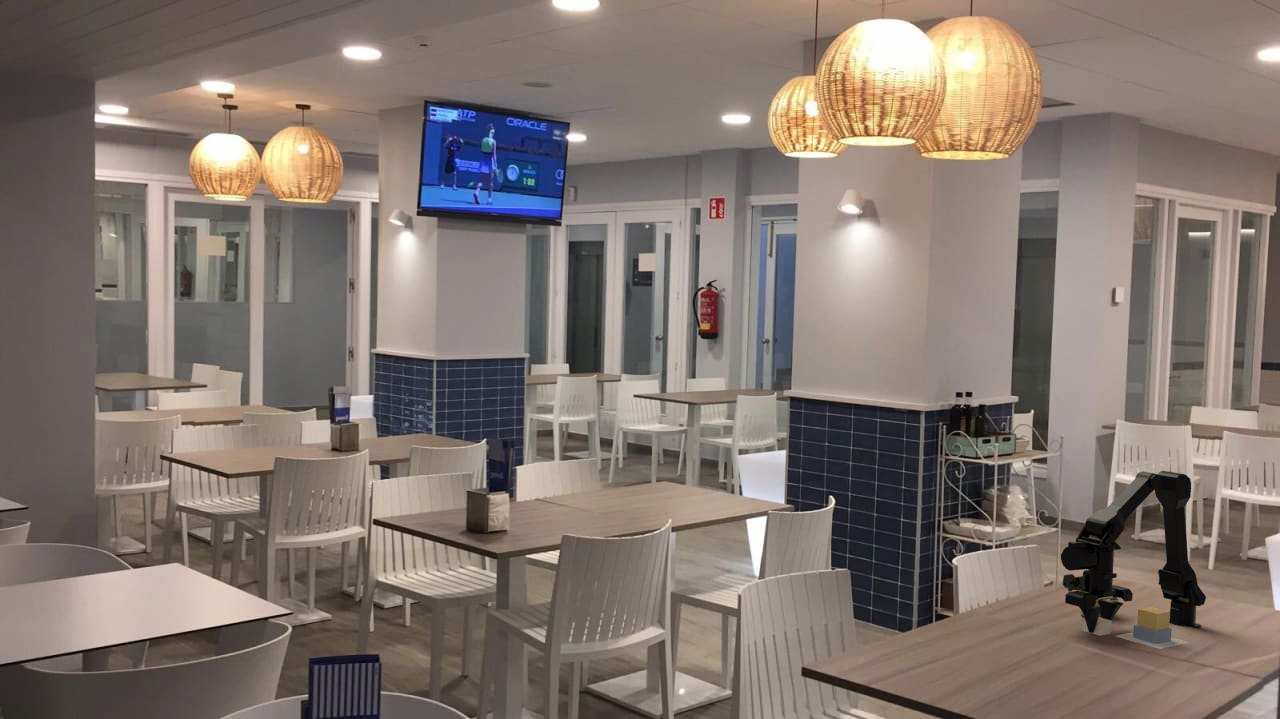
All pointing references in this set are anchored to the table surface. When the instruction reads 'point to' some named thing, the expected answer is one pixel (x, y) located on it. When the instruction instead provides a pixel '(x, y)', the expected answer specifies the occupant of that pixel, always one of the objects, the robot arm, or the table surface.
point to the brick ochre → (1153, 618)
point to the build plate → (1160, 645)
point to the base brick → (1152, 634)
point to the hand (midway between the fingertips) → (1097, 631)
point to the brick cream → (1100, 627)
